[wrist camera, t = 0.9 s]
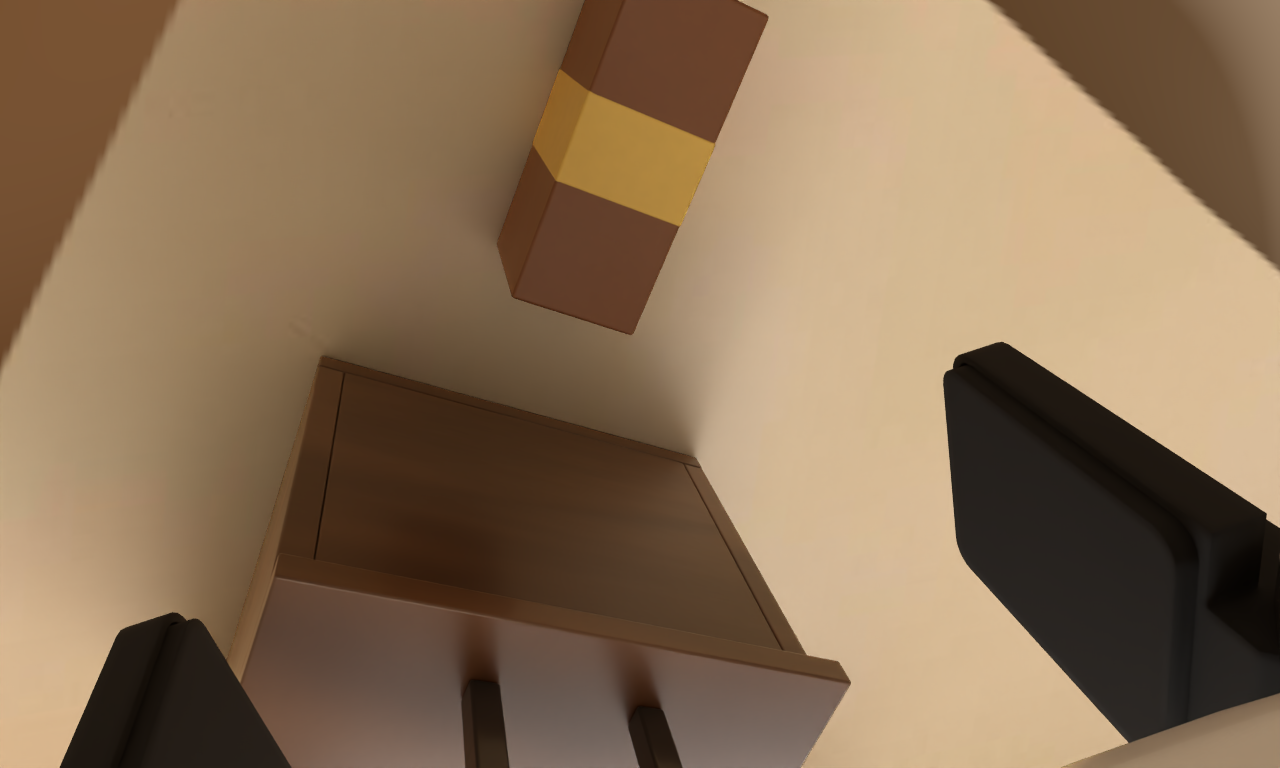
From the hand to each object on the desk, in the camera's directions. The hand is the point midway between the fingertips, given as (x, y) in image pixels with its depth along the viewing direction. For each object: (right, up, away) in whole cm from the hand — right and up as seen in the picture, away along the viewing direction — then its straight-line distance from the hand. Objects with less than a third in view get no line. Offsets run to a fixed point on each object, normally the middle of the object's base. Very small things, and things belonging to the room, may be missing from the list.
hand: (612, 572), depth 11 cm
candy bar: (-1, +10, +17) cm, 20 cm away
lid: (-4, -10, +12) cm, 16 cm away
